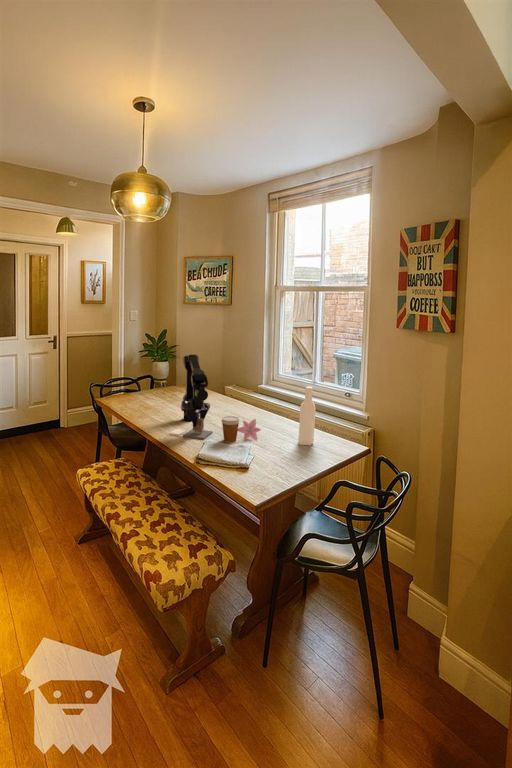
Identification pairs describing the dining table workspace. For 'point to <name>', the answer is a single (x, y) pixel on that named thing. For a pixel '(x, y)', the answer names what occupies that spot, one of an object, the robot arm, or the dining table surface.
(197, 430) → the brown wooden block
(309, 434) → the bottle
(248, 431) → the lily
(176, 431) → the tile
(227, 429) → the disposable coffee cup
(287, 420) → the dining table surface
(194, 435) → the rest mat
